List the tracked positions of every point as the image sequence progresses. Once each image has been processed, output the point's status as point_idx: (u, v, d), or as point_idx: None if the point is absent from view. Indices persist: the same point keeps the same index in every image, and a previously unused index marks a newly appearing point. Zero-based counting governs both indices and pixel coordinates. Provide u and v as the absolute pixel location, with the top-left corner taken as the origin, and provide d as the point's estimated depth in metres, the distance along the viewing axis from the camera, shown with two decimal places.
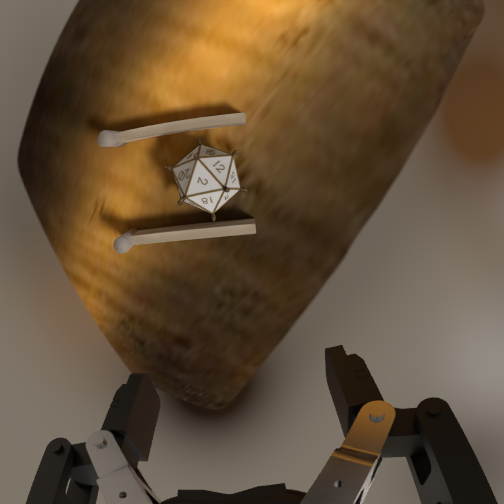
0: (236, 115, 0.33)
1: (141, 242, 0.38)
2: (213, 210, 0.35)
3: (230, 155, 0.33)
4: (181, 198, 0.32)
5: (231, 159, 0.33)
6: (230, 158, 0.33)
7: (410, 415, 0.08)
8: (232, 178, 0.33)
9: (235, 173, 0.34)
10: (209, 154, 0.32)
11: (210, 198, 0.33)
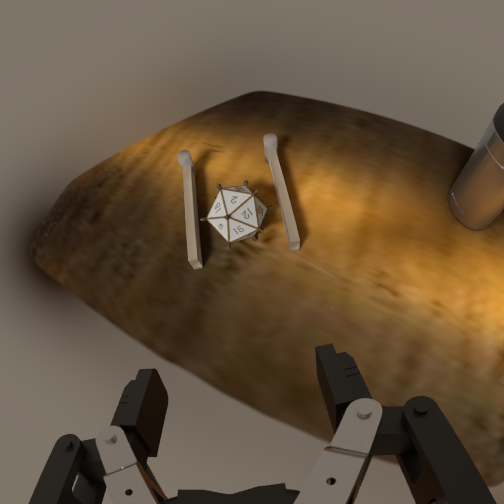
0: (296, 233, 0.40)
1: (184, 173, 0.46)
2: (209, 217, 0.40)
3: (258, 226, 0.39)
4: (219, 184, 0.38)
5: (254, 226, 0.38)
6: (255, 225, 0.39)
7: (398, 413, 0.09)
8: (237, 228, 0.38)
9: (242, 233, 0.39)
10: (258, 207, 0.39)
11: (219, 209, 0.38)
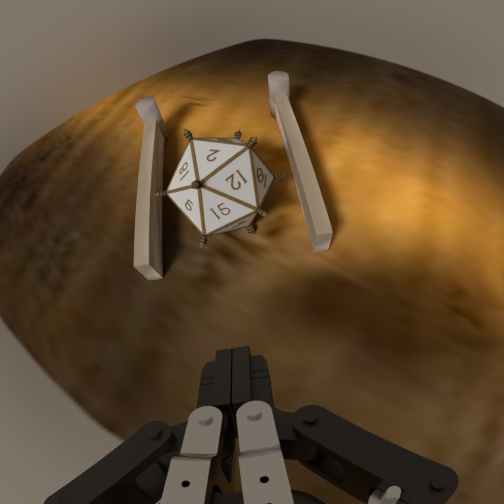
0: (325, 220, 0.22)
1: (145, 130, 0.28)
2: (170, 189, 0.22)
3: (257, 204, 0.21)
4: (188, 131, 0.20)
5: (250, 205, 0.20)
6: (252, 203, 0.20)
7: (292, 419, 0.09)
8: (218, 208, 0.20)
9: (228, 218, 0.21)
10: (257, 171, 0.21)
11: (186, 173, 0.20)
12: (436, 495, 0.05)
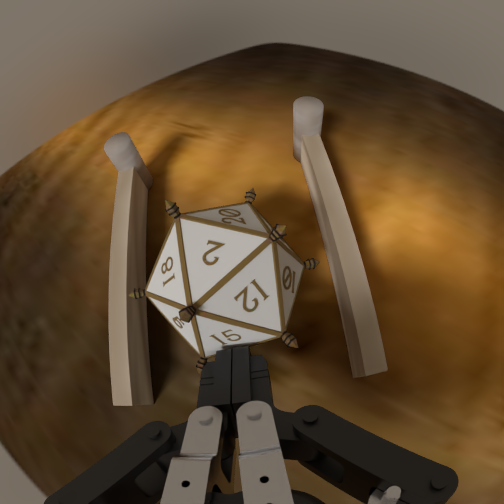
0: (379, 352, 0.14)
1: (119, 183, 0.20)
2: (149, 291, 0.14)
3: (282, 328, 0.13)
4: (172, 204, 0.13)
5: (272, 330, 0.13)
6: (274, 328, 0.13)
7: (292, 419, 0.09)
8: (224, 334, 0.13)
9: (237, 344, 0.14)
10: (283, 274, 0.14)
11: (171, 278, 0.13)
12: (436, 495, 0.05)
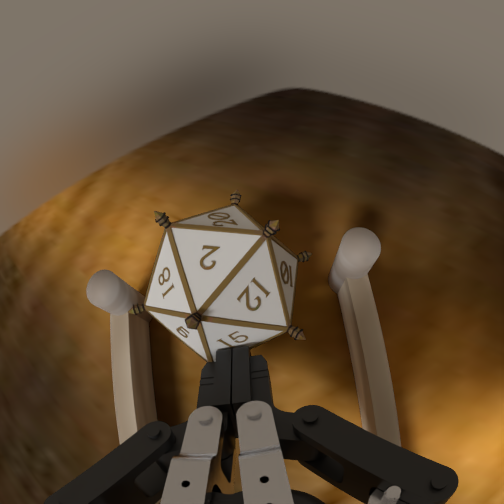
0: None
1: (113, 334, 0.16)
2: (149, 305, 0.14)
3: (287, 322, 0.13)
4: (162, 214, 0.13)
5: (278, 326, 0.13)
6: (280, 323, 0.13)
7: (292, 419, 0.09)
8: (230, 337, 0.13)
9: (245, 345, 0.14)
10: (281, 269, 0.14)
11: (170, 288, 0.13)
12: (436, 495, 0.05)
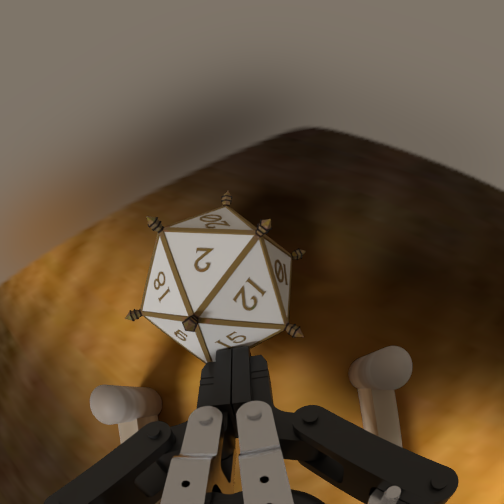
0: None
1: (123, 439, 0.13)
2: (146, 311, 0.14)
3: (284, 320, 0.13)
4: (154, 219, 0.13)
5: (275, 324, 0.13)
6: (277, 322, 0.13)
7: (292, 419, 0.09)
8: (228, 338, 0.13)
9: (243, 345, 0.14)
10: (275, 267, 0.14)
11: (166, 292, 0.13)
12: (436, 495, 0.05)
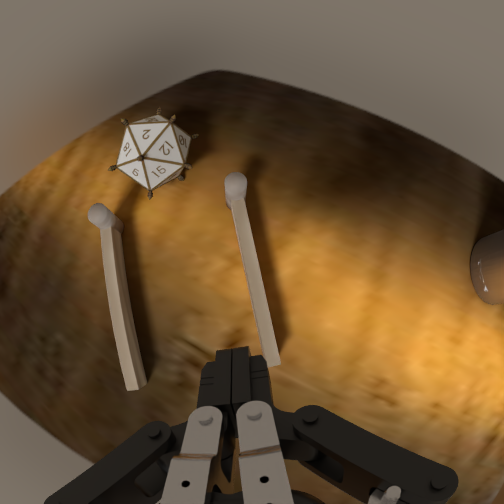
0: (275, 354, 0.27)
1: (103, 240, 0.28)
2: (119, 164, 0.27)
3: (183, 161, 0.28)
4: (124, 119, 0.26)
5: (178, 163, 0.28)
6: (179, 161, 0.28)
7: (292, 419, 0.09)
8: (157, 170, 0.27)
9: (164, 175, 0.28)
10: (179, 138, 0.28)
11: (129, 150, 0.26)
12: (436, 495, 0.05)
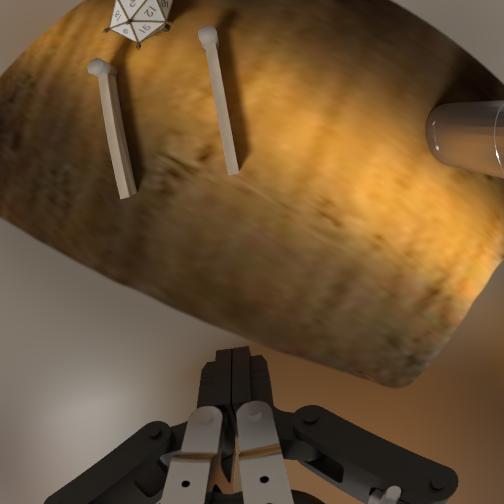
0: (234, 165, 0.34)
1: (100, 85, 0.30)
2: (111, 26, 0.26)
3: (165, 19, 0.26)
4: None
5: (161, 21, 0.26)
6: (161, 20, 0.26)
7: (292, 419, 0.09)
8: (143, 28, 0.26)
9: (150, 31, 0.27)
10: (161, 2, 0.25)
11: (119, 16, 0.24)
12: (436, 495, 0.05)
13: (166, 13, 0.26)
